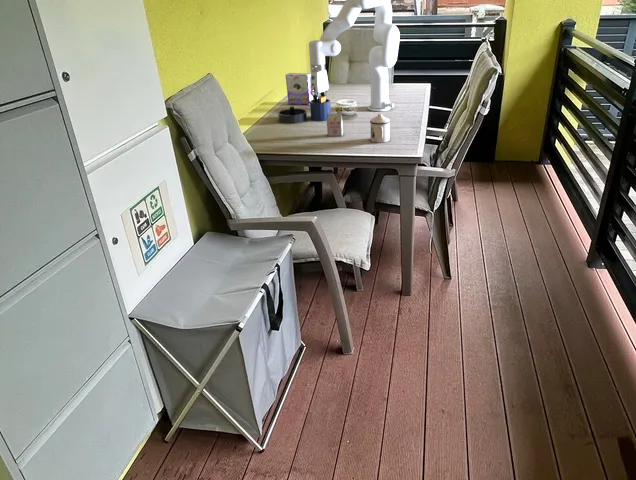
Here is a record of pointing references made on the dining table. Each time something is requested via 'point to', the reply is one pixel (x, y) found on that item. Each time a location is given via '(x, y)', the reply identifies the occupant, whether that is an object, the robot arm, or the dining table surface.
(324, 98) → the block
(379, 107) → the robot arm
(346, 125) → the dining table surface
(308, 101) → the candy box
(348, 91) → the dining table surface
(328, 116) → the white printed carton
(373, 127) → the teacup with lid
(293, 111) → the lid
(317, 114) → the pot
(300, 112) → the pan
